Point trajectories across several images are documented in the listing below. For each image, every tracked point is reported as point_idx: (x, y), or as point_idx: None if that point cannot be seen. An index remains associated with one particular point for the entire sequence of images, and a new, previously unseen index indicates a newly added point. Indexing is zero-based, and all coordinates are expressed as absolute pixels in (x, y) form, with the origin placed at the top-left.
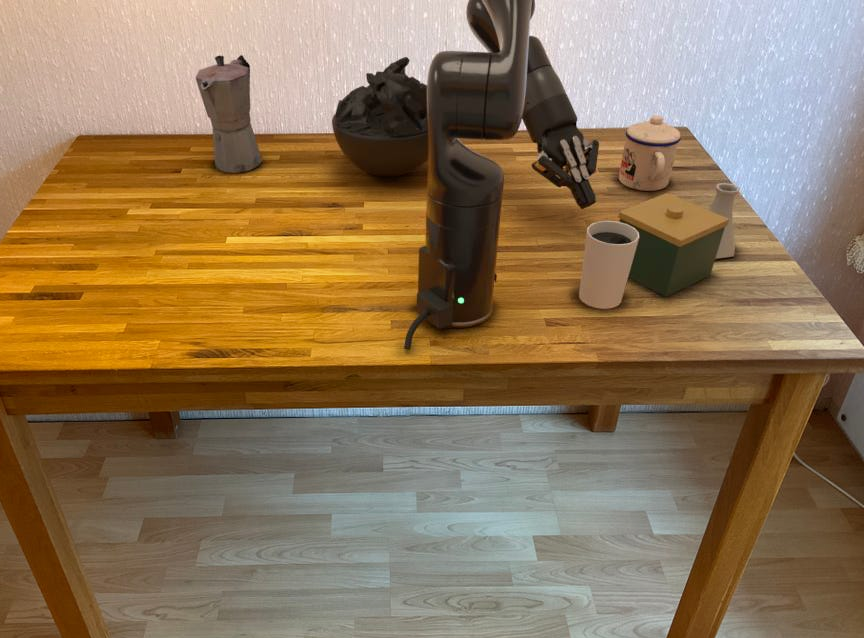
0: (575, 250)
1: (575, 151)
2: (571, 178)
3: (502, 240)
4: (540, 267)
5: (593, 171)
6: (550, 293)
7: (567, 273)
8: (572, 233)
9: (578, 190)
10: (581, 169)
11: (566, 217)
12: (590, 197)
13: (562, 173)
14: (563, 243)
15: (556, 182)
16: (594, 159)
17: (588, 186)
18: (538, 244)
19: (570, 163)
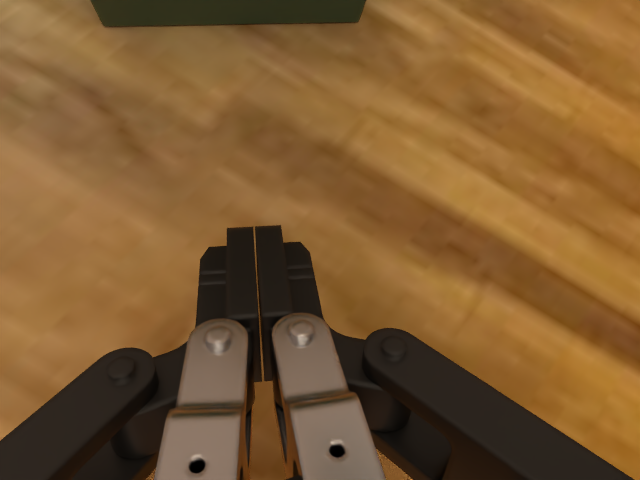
0: (382, 178)
1: None
2: (341, 362)
3: (580, 391)
4: (567, 154)
5: (125, 357)
6: (628, 19)
7: (510, 76)
8: None
9: (312, 295)
10: (236, 384)
11: None
12: (256, 241)
13: (442, 378)
14: (387, 245)
15: (416, 415)
16: (30, 446)
17: (235, 287)
18: (476, 290)
19: (360, 417)
